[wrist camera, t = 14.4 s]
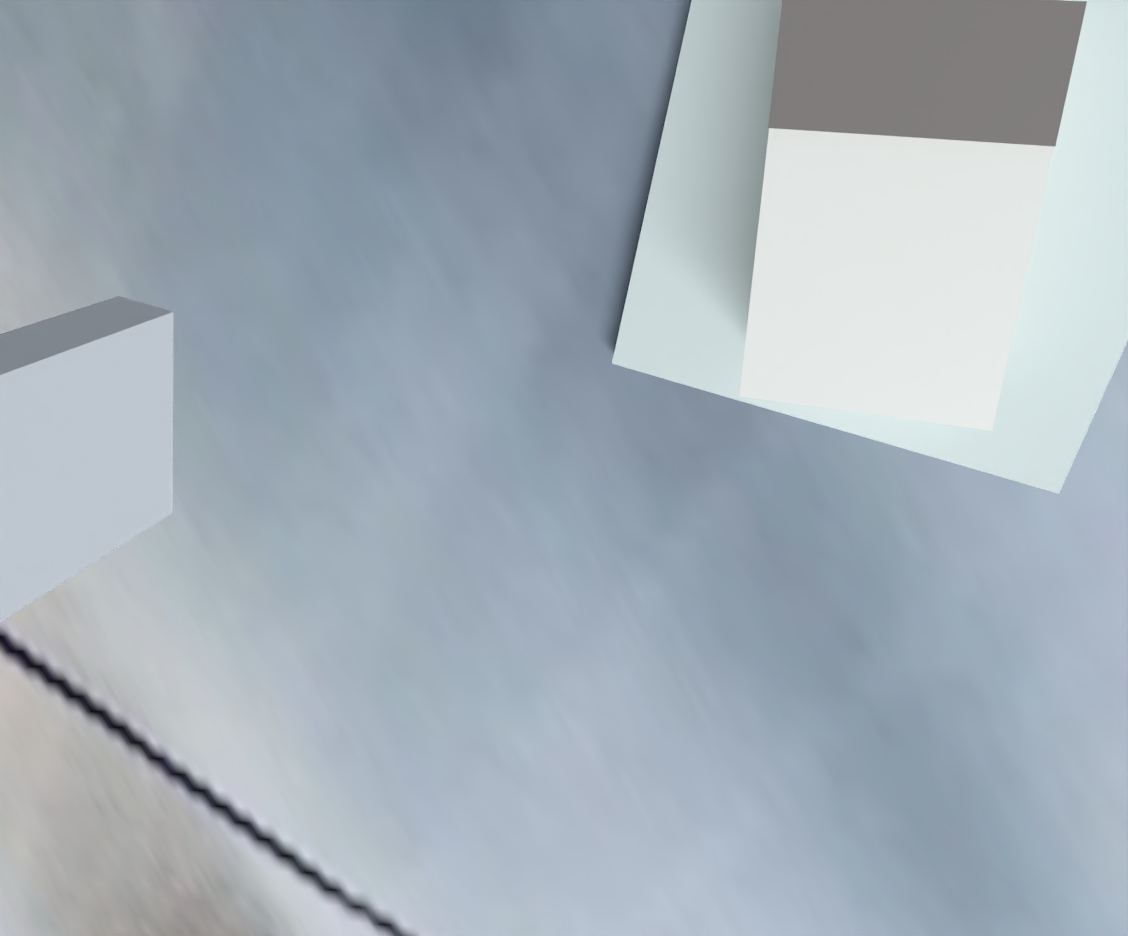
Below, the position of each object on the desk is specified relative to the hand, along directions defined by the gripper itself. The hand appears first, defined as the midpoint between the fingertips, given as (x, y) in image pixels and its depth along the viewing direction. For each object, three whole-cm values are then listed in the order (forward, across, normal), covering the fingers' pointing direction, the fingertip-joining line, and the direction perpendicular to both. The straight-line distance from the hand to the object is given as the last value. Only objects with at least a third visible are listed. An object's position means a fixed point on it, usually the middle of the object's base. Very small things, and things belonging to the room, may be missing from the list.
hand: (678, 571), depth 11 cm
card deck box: (+21, -2, -2) cm, 21 cm away
